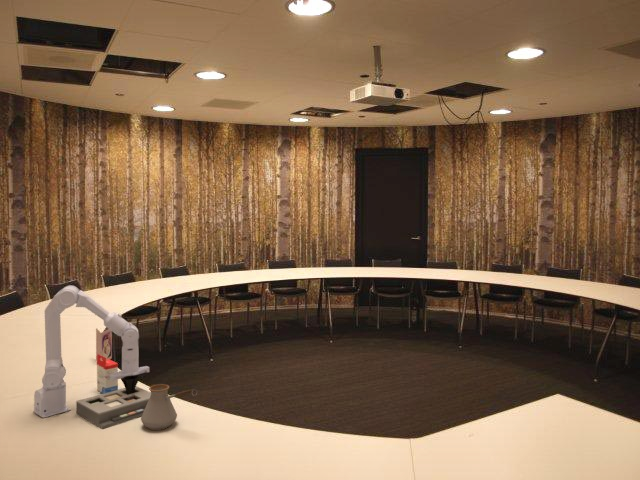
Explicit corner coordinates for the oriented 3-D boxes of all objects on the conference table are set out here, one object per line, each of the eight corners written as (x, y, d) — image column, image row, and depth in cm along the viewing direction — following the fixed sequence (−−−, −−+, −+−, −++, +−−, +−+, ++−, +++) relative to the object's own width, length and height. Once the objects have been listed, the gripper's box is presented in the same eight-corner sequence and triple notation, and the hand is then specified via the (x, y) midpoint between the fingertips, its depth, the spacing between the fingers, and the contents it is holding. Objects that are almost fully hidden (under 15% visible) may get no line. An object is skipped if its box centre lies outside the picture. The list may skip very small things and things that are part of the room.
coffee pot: (133, 427, 167) (133, 382, 166) (159, 415, 177) (159, 373, 176) (182, 442, 157) (182, 395, 156) (207, 429, 167) (207, 384, 166)
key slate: (127, 402, 184) (127, 398, 184) (121, 399, 187) (121, 395, 187) (138, 399, 188) (138, 395, 188) (132, 396, 191) (132, 392, 191)
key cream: (111, 412, 173) (111, 408, 173) (104, 408, 176) (104, 404, 176) (123, 408, 176) (123, 404, 176) (116, 405, 179) (116, 401, 179)
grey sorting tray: (102, 428, 165) (102, 415, 165) (76, 413, 177) (76, 401, 177) (162, 409, 182) (162, 397, 182) (134, 396, 194) (134, 385, 194)
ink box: (118, 392, 198) (118, 355, 197) (105, 395, 195) (105, 358, 194) (108, 387, 204) (108, 351, 203) (96, 390, 200) (96, 353, 200)
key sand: (110, 404, 179) (110, 400, 179) (104, 401, 182) (104, 397, 182) (122, 401, 183) (122, 397, 183) (116, 398, 186) (116, 394, 186)
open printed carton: (102, 365, 232) (102, 333, 231) (86, 365, 232) (86, 332, 231) (113, 358, 244) (113, 327, 243) (98, 357, 244) (98, 326, 243)
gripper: (117, 365, 179) (117, 403, 179) (153, 357, 190) (153, 392, 191) (107, 361, 183) (107, 398, 184) (143, 353, 194) (143, 388, 195)
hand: (130, 395), depth 187 cm, fingers closed, pressing on key slate
